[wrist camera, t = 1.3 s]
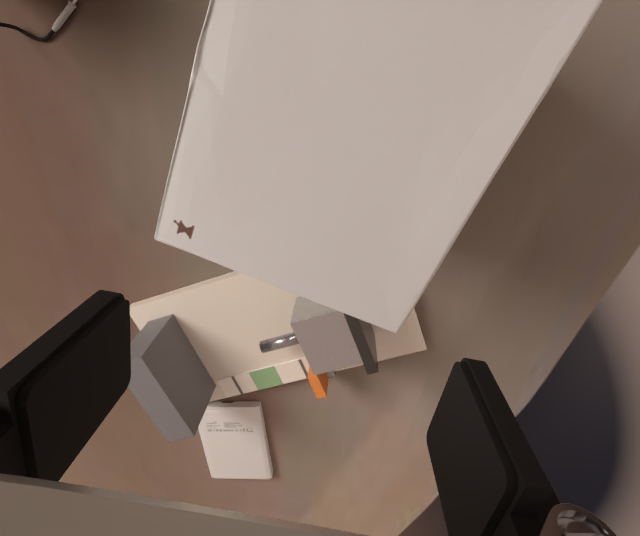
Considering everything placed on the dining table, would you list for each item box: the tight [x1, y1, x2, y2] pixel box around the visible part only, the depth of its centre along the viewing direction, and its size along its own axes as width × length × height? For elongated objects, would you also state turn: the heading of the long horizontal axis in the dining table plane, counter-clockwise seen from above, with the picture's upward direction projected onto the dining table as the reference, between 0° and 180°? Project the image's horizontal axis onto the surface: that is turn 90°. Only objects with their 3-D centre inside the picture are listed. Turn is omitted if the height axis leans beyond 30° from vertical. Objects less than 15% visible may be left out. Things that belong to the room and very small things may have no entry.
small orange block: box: [308, 366, 328, 399], centre depth 40 cm, size 1×3×3 cm, turn 20°
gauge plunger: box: [259, 297, 378, 378], centre depth 38 cm, size 10×10×6 cm
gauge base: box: [128, 271, 427, 442], centre depth 38 cm, size 28×14×8 cm, turn 110°
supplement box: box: [154, 0, 604, 333], centre depth 24 cm, size 17×13×18 cm
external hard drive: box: [198, 401, 273, 479], centre depth 50 cm, size 2×8×12 cm
